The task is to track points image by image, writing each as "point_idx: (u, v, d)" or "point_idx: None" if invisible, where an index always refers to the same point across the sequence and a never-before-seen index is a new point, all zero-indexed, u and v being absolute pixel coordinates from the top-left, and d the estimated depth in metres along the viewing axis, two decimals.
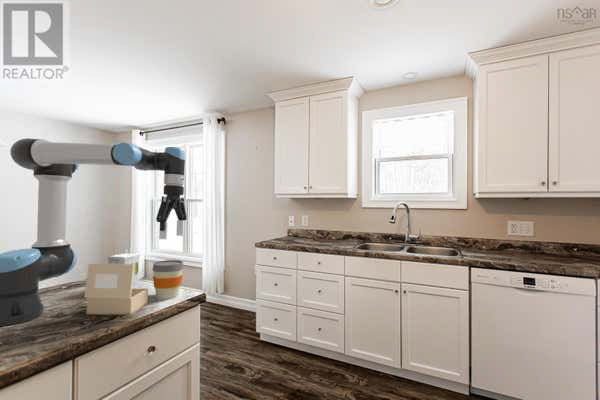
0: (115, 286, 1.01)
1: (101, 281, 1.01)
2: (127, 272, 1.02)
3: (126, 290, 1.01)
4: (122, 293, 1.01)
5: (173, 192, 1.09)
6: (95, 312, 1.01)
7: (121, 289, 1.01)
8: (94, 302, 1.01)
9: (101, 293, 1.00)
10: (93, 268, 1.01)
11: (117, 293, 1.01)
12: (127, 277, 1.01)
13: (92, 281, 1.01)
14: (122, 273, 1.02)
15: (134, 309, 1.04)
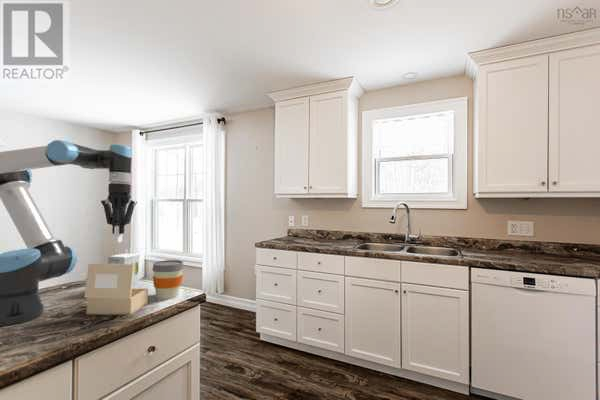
0: (115, 286, 1.01)
1: (101, 281, 1.01)
2: (127, 272, 1.02)
3: (126, 290, 1.01)
4: (122, 293, 1.01)
5: (108, 190, 1.09)
6: (95, 312, 1.01)
7: (121, 289, 1.01)
8: (94, 302, 1.01)
9: (101, 293, 1.00)
10: (93, 268, 1.01)
11: (117, 293, 1.01)
12: (127, 277, 1.01)
13: (92, 281, 1.01)
14: (122, 273, 1.02)
15: (134, 309, 1.04)
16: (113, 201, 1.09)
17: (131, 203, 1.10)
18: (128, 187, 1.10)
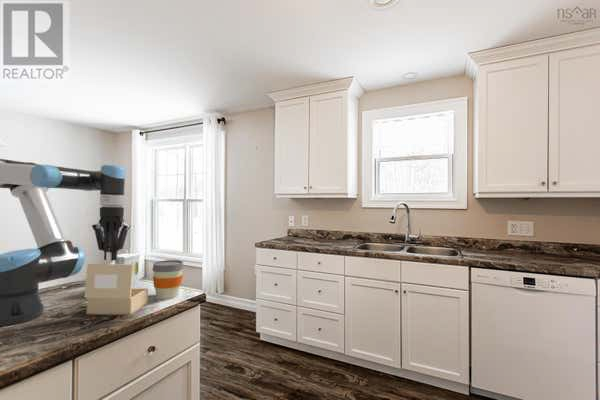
0: (115, 286, 1.01)
1: (101, 281, 1.01)
2: (126, 272, 1.01)
3: (126, 290, 1.01)
4: (122, 293, 1.01)
5: None
6: (95, 312, 1.01)
7: (121, 289, 1.01)
8: (94, 302, 1.01)
9: (101, 293, 1.00)
10: (93, 268, 1.01)
11: (117, 293, 1.00)
12: (127, 277, 1.01)
13: (91, 281, 1.01)
14: (121, 273, 1.01)
15: (134, 309, 1.04)
16: (105, 226, 1.01)
17: (124, 228, 1.02)
18: (121, 210, 1.03)
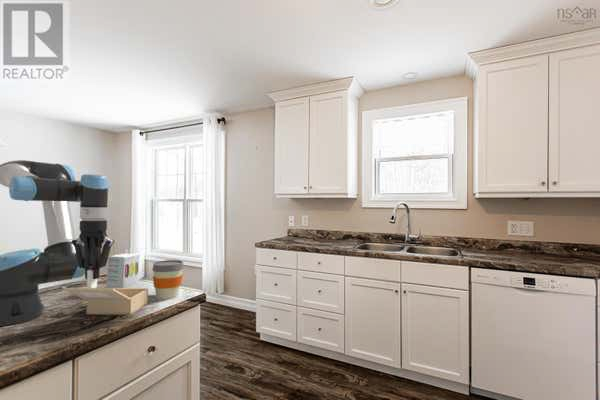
0: (108, 296, 0.97)
1: (90, 295, 0.96)
2: (112, 292, 0.93)
3: (122, 297, 0.98)
4: (120, 298, 0.99)
5: None
6: (95, 312, 1.01)
7: (116, 297, 0.98)
8: (94, 302, 1.01)
9: (99, 298, 0.99)
10: (72, 290, 0.92)
11: (115, 298, 0.99)
12: (115, 294, 0.95)
13: (81, 294, 0.96)
14: (107, 292, 0.93)
15: (134, 309, 1.04)
16: (85, 241, 0.92)
17: (107, 243, 0.93)
18: (103, 224, 0.94)
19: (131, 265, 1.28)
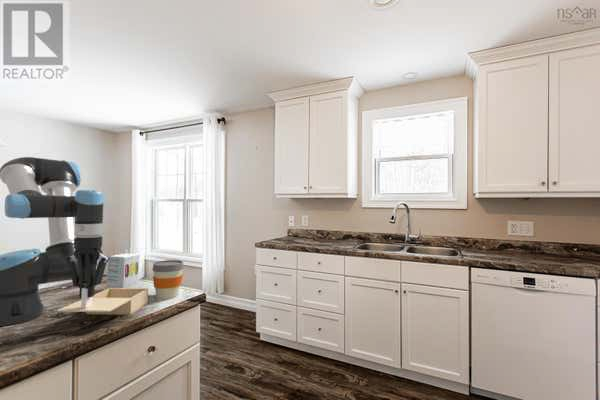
0: None
1: None
2: None
3: None
4: None
5: None
6: (95, 312, 1.01)
7: None
8: None
9: None
10: None
11: None
12: None
13: None
14: None
15: (134, 309, 1.04)
16: (80, 259, 0.90)
17: (102, 260, 0.91)
18: (98, 241, 0.91)
19: (131, 265, 1.28)
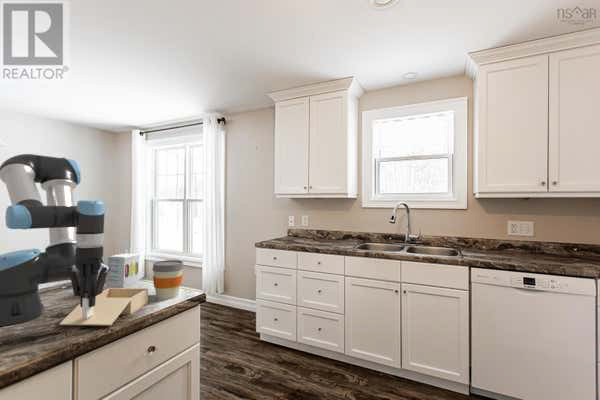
0: None
1: None
2: None
3: None
4: None
5: None
6: None
7: None
8: None
9: None
10: None
11: None
12: None
13: None
14: None
15: (134, 309, 1.04)
16: (81, 269, 0.90)
17: (103, 270, 0.91)
18: (99, 251, 0.92)
19: (131, 265, 1.28)
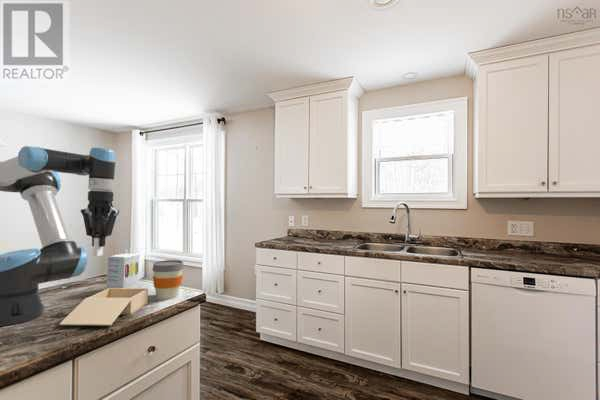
0: None
1: None
2: None
3: None
4: None
5: None
6: None
7: None
8: None
9: None
10: None
11: None
12: None
13: None
14: None
15: (134, 309, 1.04)
16: (93, 210, 0.98)
17: (112, 213, 0.98)
18: (109, 195, 0.99)
19: (131, 265, 1.28)
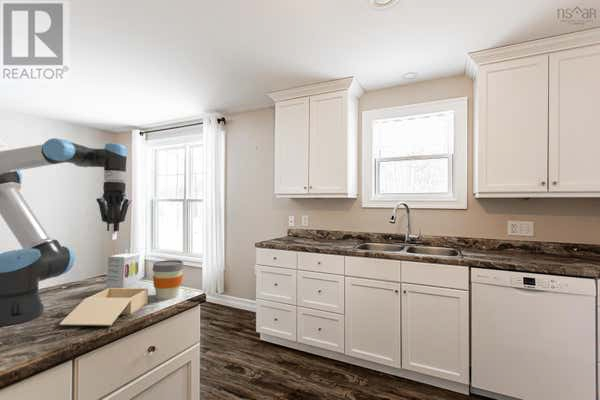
0: None
1: None
2: None
3: None
4: None
5: (103, 188, 1.11)
6: None
7: None
8: None
9: None
10: None
11: None
12: None
13: None
14: None
15: (134, 309, 1.04)
16: (108, 199, 1.10)
17: (125, 201, 1.11)
18: (123, 185, 1.12)
19: (131, 265, 1.28)
